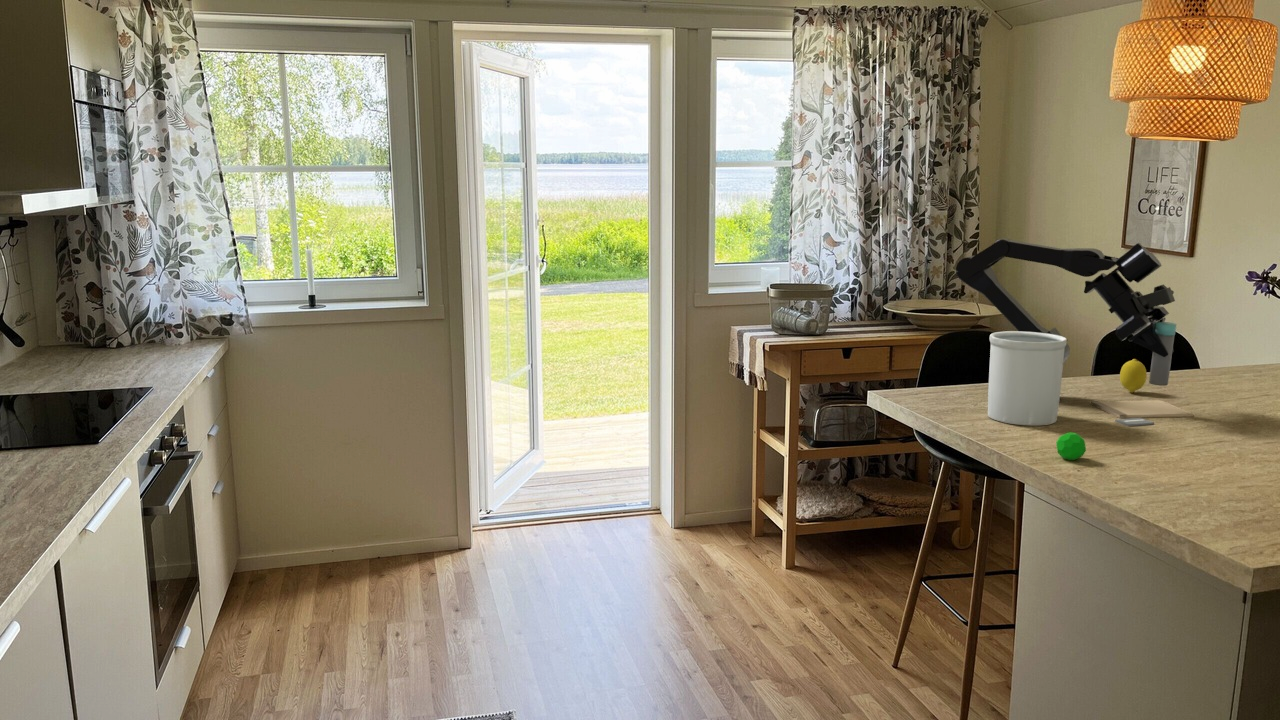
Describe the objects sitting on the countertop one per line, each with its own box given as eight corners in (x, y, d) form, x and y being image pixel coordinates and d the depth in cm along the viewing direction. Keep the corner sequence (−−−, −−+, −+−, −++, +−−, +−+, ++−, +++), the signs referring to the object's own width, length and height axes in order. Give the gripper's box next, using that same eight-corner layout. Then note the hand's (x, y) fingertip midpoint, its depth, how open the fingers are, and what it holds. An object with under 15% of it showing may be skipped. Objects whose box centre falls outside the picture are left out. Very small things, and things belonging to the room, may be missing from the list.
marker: (1154, 385, 205) (1162, 325, 203) (1144, 381, 209) (1152, 321, 206) (1172, 385, 205) (1180, 325, 203) (1162, 381, 209) (1169, 321, 206)
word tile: (1128, 426, 198) (1128, 423, 198) (1115, 421, 202) (1115, 419, 202) (1153, 424, 199) (1154, 422, 199) (1139, 419, 203) (1140, 417, 203)
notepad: (1119, 418, 205) (1119, 414, 204) (1090, 404, 216) (1090, 401, 216) (1193, 416, 205) (1193, 413, 205) (1160, 402, 217) (1160, 399, 217)
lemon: (1149, 395, 224) (1152, 361, 222) (1125, 395, 224) (1128, 361, 223) (1137, 389, 230) (1140, 356, 228) (1114, 390, 230) (1117, 356, 228)
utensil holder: (995, 406, 216) (1000, 328, 212) (1067, 415, 207) (1073, 334, 204) (975, 420, 204) (980, 338, 200) (1050, 430, 195) (1057, 345, 192)
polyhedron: (1091, 461, 175) (1093, 436, 174) (1068, 464, 174) (1070, 438, 173) (1071, 453, 180) (1073, 429, 179) (1049, 456, 179) (1051, 431, 178)
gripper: (1139, 276, 198) (1192, 337, 193) (1163, 269, 212) (1213, 325, 207) (1093, 310, 205) (1144, 369, 200) (1120, 301, 218) (1168, 356, 214)
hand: (1169, 354), depth 205 cm, fingers closed on marker, 4 cm apart
